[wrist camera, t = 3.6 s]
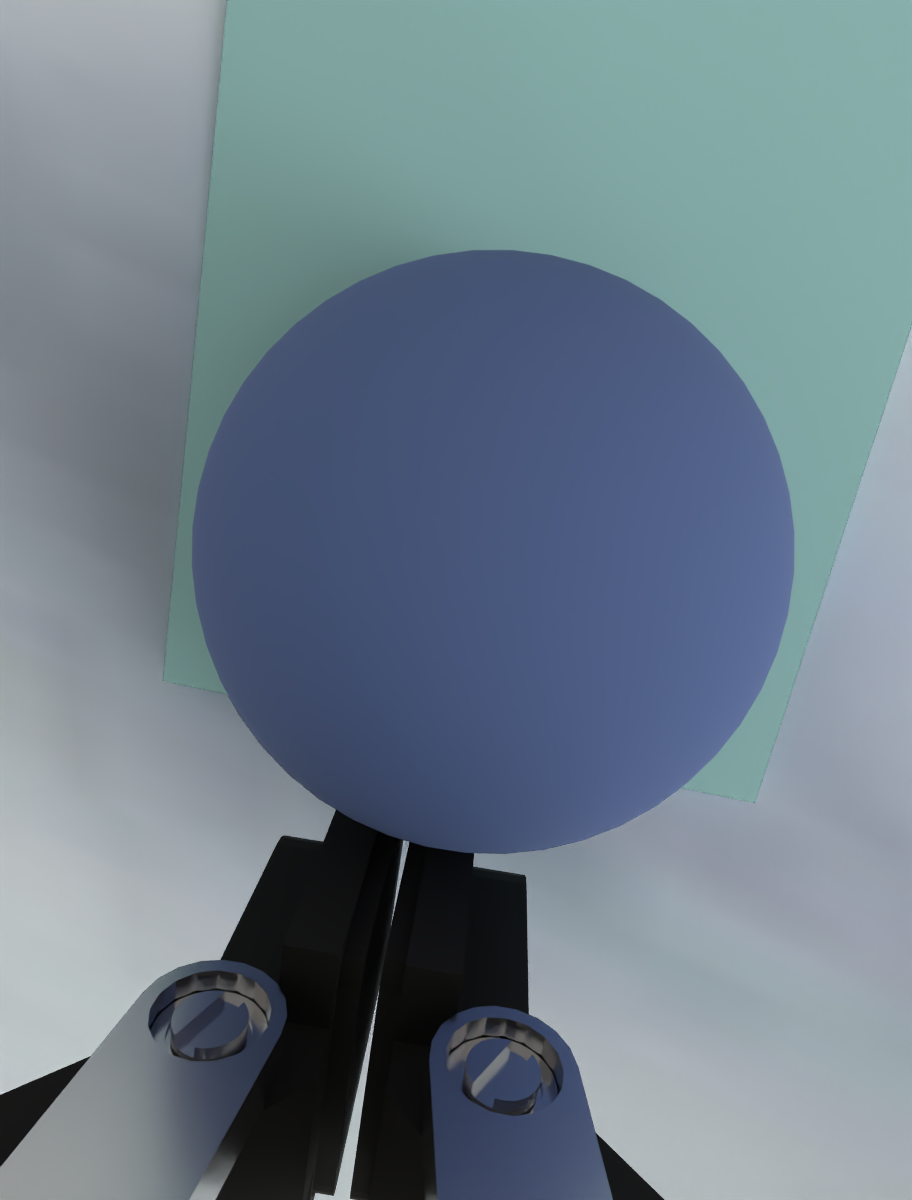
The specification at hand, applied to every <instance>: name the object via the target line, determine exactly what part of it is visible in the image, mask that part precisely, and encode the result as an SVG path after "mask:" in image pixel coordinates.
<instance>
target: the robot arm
mask: <svg viewBox="0 0 912 1200" xmlns="http://www.w3.org/2000/svg"><path fill="white" fill-rule="evenodd" d="M402 844H403V840H402V839H399V838H395V837H392V836H389V835H386V834H384V833H382V832H380V831H377V830H375V829H373V828H371V827H368V826H366V825H364V824H362V823H359V822H357V821H355V820H353V819H351V818H349V817H348V816H346V815H344V814H343V813H341V812H340V811H338V810H336V811H335V814H334V816H333V819H332V821H331V824H330V827H329V829H328V832H327V834H326V837H325V839H324V842H321V841H315V840H309V839H303V838H297V837H291V836H285V835H284V836H282V837H281V838H280V840H279V841H278V843H277V845H276V847H275V849H274V851H273V853H272V855H271V857H270V859H269V861H268V863H267V865H266V867H265V870H264V872H263V874H262V876H261V878H260V880H259V882H258V884H257V886H256V888H255V890H254V892H253V894H252V896H251V898H250V900H249V902H248V904H247V906H246V908H245V911H244V913H243V915H242V917H241V919H240V921H239V923H238V925H237V927H236V929H235V931H234V933H233V935H232V937H231V939H230V941H229V943H228V945H227V947H226V950H225V952H224V954H223V956H222V958H221V960H214V961H200V962H196V963H193V964H189V965H185V966H182V967H178V968H176V969H175V970H173V971H171V972H169V973H167V974H165V975H163V976H161V977H160V978H158V979H157V980H156V981H155V982H154V983H153V984H152V985H150V986H149V987H148V988H147V989H146V990H145V991H144V992H143V993H142V994H141V995H140V997H139V998H138V999H137V1000H136V1001H135V1003H134V1004H133V1005H132V1006H131V1008H130V1009H129V1010H128V1011H127V1012H126V1014H125V1015H124V1016H123V1017H122V1019H121V1020H120V1021H119V1022H118V1024H117V1025H116V1026H115V1027H114V1028H113V1030H112V1031H111V1032H110V1033H109V1035H108V1036H107V1037H106V1038H105V1039H104V1041H103V1042H102V1043H101V1044H100V1046H99V1047H98V1048H97V1049H96V1051H95V1052H94V1053H93V1054H92V1055H91V1056H90V1057H88V1058H85V1059H83V1060H81V1061H78V1062H76V1063H74V1064H71V1065H69V1066H67V1067H64V1068H62V1069H60V1070H57V1071H55V1072H53V1073H50V1074H48V1075H46V1076H43V1077H41V1078H39V1079H36V1080H34V1081H32V1082H29V1083H27V1084H25V1085H22V1086H20V1087H18V1088H16V1089H13V1090H11V1091H9V1092H6V1093H4V1094H2V1095H0V1200H314V1196H315V1193H320V1194H326V1195H332V1196H334V1193H335V1189H336V1185H337V1181H338V1176H339V1171H340V1167H341V1162H342V1157H343V1153H344V1148H345V1144H346V1139H347V1134H348V1130H349V1125H350V1121H351V1116H352V1111H353V1107H354V1102H355V1097H356V1093H357V1088H358V1084H359V1079H360V1074H361V1070H362V1065H363V1061H364V1056H365V1051H366V1047H367V1042H368V1038H369V1033H370V1028H371V1024H372V1019H373V1014H374V1010H375V1005H376V1001H377V996H378V1002H377V1009H376V1016H375V1024H374V1031H373V1038H372V1045H371V1052H370V1059H369V1066H368V1073H367V1080H366V1087H365V1094H364V1101H363V1108H362V1116H361V1123H360V1130H359V1137H358V1144H357V1151H356V1158H355V1165H354V1172H353V1179H352V1186H351V1194H350V1199H355V1200H664V1199H663V1198H662V1197H661V1196H660V1195H659V1194H658V1193H657V1192H656V1191H655V1190H654V1189H653V1188H652V1187H651V1186H650V1185H649V1184H648V1183H647V1182H646V1181H645V1180H644V1179H643V1178H642V1177H640V1176H639V1175H638V1174H637V1173H636V1172H635V1171H634V1170H633V1169H632V1168H631V1167H630V1166H629V1165H628V1164H627V1163H626V1162H625V1161H624V1160H623V1159H622V1158H621V1157H620V1156H619V1155H618V1154H617V1153H616V1152H615V1151H614V1150H613V1149H612V1148H611V1147H610V1146H609V1145H608V1144H607V1143H606V1142H605V1141H604V1140H603V1139H602V1138H600V1137H599V1136H598V1135H597V1134H596V1133H595V1129H594V1125H593V1121H592V1118H591V1114H590V1110H589V1106H588V1102H587V1098H586V1095H585V1091H584V1087H583V1083H582V1079H581V1075H580V1072H579V1068H578V1065H577V1063H576V1061H575V1058H574V1056H573V1054H572V1052H571V1049H570V1048H569V1046H568V1045H567V1044H566V1043H565V1042H564V1040H563V1039H562V1038H561V1037H560V1036H559V1035H558V1033H557V1032H556V1031H555V1030H553V1029H552V1028H550V1027H549V1026H548V1025H546V1024H545V1023H543V1022H542V1021H541V1020H539V1019H538V1018H536V1017H533V1016H531V1015H529V1007H528V948H527V890H526V877H525V875H521V874H515V873H509V872H502V871H496V870H490V869H484V868H478V867H473V860H474V853H463V852H457V851H451V850H444V849H438V848H432V847H426V846H422V845H419V844H416V843H412V842H410V843H409V847H408V852H407V856H406V861H405V865H404V870H403V875H402V879H401V884H400V888H399V893H398V897H397V902H396V906H395V911H394V916H393V920H392V915H393V908H394V901H395V894H396V887H397V880H398V873H399V866H400V859H401V851H402ZM391 922H392V925H391ZM379 987H380V988H379ZM378 991H379V995H378Z"/></svg>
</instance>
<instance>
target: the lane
mask: <svg viewBox="0 0 912 1200" xmlns="http://www.w3.org/2000/svg"><path fill="white" fill-rule="evenodd" d="M470 250H517V251H525V252H532V253H540V254H548V255H554V256H557V257H561V258H565V259H569V260H573V261H577V262H580V263H584V264H588V265H591V266H593V267H596V268H598V269H601V270H603V271H606V272H608V273H611V274H613V275H615V276H618V277H620V278H623V279H625V280H627V281H629V282H631V283H632V284H634V285H636V286H638V287H639V288H641V289H643V290H645V291H646V292H648V293H650V294H652V295H653V296H655V297H657V298H659V299H660V300H662V301H663V302H664V303H666V304H667V305H668V306H670V307H671V308H672V309H674V310H675V311H676V312H678V313H679V314H680V315H681V316H683V317H684V318H685V319H687V320H688V321H689V322H691V323H692V324H693V325H694V326H695V327H696V328H697V329H698V330H699V331H700V332H701V333H702V334H703V335H704V336H705V337H706V338H707V339H708V340H709V341H710V342H711V343H712V344H713V345H714V346H715V347H716V348H717V349H718V350H719V351H720V352H721V353H722V355H723V356H724V357H725V359H726V360H727V361H728V362H729V364H730V365H731V366H732V368H733V369H734V370H735V372H736V373H737V374H738V375H739V377H740V378H741V379H742V381H743V382H744V383H745V385H746V387H747V389H748V390H749V392H750V394H751V395H752V397H753V399H754V401H755V402H756V404H757V406H758V408H759V409H760V411H761V413H762V415H763V416H764V418H765V421H766V423H767V426H768V428H769V430H770V433H771V435H772V438H773V440H774V443H775V445H776V447H777V450H778V452H779V455H780V459H781V463H782V466H783V470H784V474H785V478H786V482H787V485H788V489H789V493H790V501H791V509H792V517H793V525H794V576H793V583H792V590H791V597H790V604H789V611H788V616H787V620H786V623H785V627H784V630H783V634H782V638H781V641H780V645H779V648H778V652H777V655H776V657H775V659H774V662H773V664H772V666H771V668H770V671H769V673H768V675H767V678H766V680H765V682H764V685H763V687H762V689H761V691H760V693H759V695H758V696H757V698H756V700H755V701H754V703H753V705H752V706H751V708H750V710H749V711H748V713H747V715H746V716H745V718H744V720H743V721H742V723H741V724H740V726H739V727H738V728H737V729H736V731H735V732H734V733H733V734H732V736H731V737H730V738H729V739H728V741H727V742H726V743H725V745H724V746H723V747H722V748H721V750H720V751H719V752H718V753H717V755H716V756H715V757H714V758H713V759H712V760H711V761H709V762H708V763H707V764H706V765H705V766H704V767H703V768H702V769H701V770H700V771H699V772H698V773H697V774H696V775H695V776H694V777H693V778H692V779H691V780H690V781H689V782H688V783H686V784H685V785H684V786H682V787H681V788H684V789H689V790H694V791H698V792H703V793H708V794H713V795H718V796H723V797H727V798H732V799H737V800H742V801H747V802H752V803H755V801H756V798H757V795H758V792H759V789H760V786H761V783H762V780H763V777H764V774H765V771H766V768H767V765H768V762H769V759H770V755H771V752H772V749H773V746H774V743H775V740H776V737H777V734H778V731H779V728H780V725H781V722H782V719H783V716H784V713H785V710H786V707H787V704H788V701H789V698H790V695H791V692H792V688H793V685H794V682H795V679H796V676H797V673H798V670H799V667H800V664H801V661H802V658H803V655H804V652H805V649H806V646H807V643H808V640H809V637H810V634H811V631H812V628H813V625H814V621H815V618H816V615H817V612H818V609H819V606H820V603H821V600H822V597H823V594H824V591H825V588H826V585H827V582H828V579H829V576H830V573H831V570H832V567H833V564H834V561H835V558H836V554H837V551H838V548H839V545H840V542H841V539H842V536H843V533H844V530H845V527H846V524H847V521H848V518H849V515H850V512H851V509H852V506H853V503H854V500H855V497H856V494H857V491H858V487H859V484H860V481H861V478H862V475H863V472H864V469H865V466H866V463H867V460H868V457H869V454H870V451H871V448H872V445H873V442H874V439H875V436H876V433H877V430H878V427H879V424H880V420H881V417H882V414H883V411H884V408H885V405H886V402H887V399H888V396H889V393H890V390H891V387H892V384H893V381H894V378H895V375H896V372H897V369H898V366H899V363H900V360H901V357H902V353H903V350H904V347H905V344H906V341H907V338H908V335H909V332H910V329H911V326H912V0H227V7H226V18H225V29H224V39H223V50H222V60H221V71H220V82H219V92H218V103H217V113H216V124H215V134H214V145H213V156H212V166H211V177H210V187H209V198H208V209H207V219H206V230H205V240H204V251H203V261H202V272H201V283H200V293H199V304H198V314H197V325H196V336H195V346H194V357H193V367H192V378H191V388H190V399H189V410H188V420H187V431H186V441H185V452H184V463H183V473H182V484H181V494H180V505H179V515H178V526H177V537H176V547H175V558H174V568H173V579H172V590H171V600H170V611H169V621H168V632H167V643H166V653H165V664H164V674H163V681H166V682H170V683H175V684H180V685H185V686H190V687H195V688H200V689H204V690H209V691H214V692H219V693H224V694H227V692H226V690H225V689H224V687H223V685H222V683H221V681H220V679H219V676H218V674H217V671H216V669H215V666H214V663H213V661H212V658H211V656H210V653H209V651H208V648H207V645H206V642H205V638H204V634H203V630H202V626H201V622H200V618H199V614H198V610H197V606H196V598H195V589H194V581H193V572H192V527H193V520H194V513H195V506H196V500H197V493H198V487H199V484H200V480H201V476H202V473H203V469H204V466H205V462H206V459H207V455H208V452H209V449H210V447H211V444H212V442H213V440H214V437H215V435H216V433H217V430H218V428H219V426H220V423H221V421H222V419H223V416H224V414H225V413H226V411H227V409H228V408H229V406H230V404H231V403H232V401H233V399H234V397H235V396H236V394H237V392H238V391H239V389H240V387H241V386H242V384H243V382H244V381H245V380H246V378H247V377H248V376H249V374H250V373H251V372H252V371H253V369H254V368H255V367H256V365H257V364H258V363H259V362H260V360H261V359H262V358H263V356H264V355H265V354H266V353H267V351H268V350H269V349H270V348H271V347H272V346H273V345H274V344H275V343H276V342H277V341H278V340H279V339H280V338H281V337H282V336H283V335H284V334H285V333H286V332H287V331H288V330H289V329H290V328H291V327H292V326H294V325H295V324H296V323H297V322H298V321H300V320H301V319H302V318H303V317H305V316H306V315H307V314H309V313H310V312H311V311H313V310H314V309H315V308H317V307H318V306H319V305H321V304H322V303H323V302H324V301H326V300H327V299H329V298H331V297H333V296H334V295H336V294H338V293H339V292H341V291H343V290H345V289H346V288H348V287H350V286H352V285H353V284H355V283H357V282H359V281H360V280H363V279H365V278H368V277H370V276H372V275H375V274H377V273H380V272H382V271H384V270H387V269H389V268H392V267H394V266H397V265H400V264H404V263H408V262H411V261H415V260H419V259H423V258H426V257H430V256H434V255H441V254H448V253H455V252H463V251H470Z"/></svg>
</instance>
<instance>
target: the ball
mask: <svg viewBox="0 0 912 1200" xmlns="http://www.w3.org/2000/svg"><path fill="white" fill-rule="evenodd" d="M192 572H193V581H194V589H195V598H196V606H197V610H198V614H199V618H200V622H201V626H202V630H203V634H204V638H205V642H206V645H207V648H208V651H209V653H210V656H211V658H212V661H213V663H214V666H215V669H216V671H217V674H218V676H219V679H220V681H221V683H222V685H223V687H224V689H225V690H226V692H227V694H228V696H229V698H230V699H231V701H232V703H233V705H234V707H235V709H236V710H237V712H238V714H239V716H240V717H241V718H242V720H243V721H244V722H245V724H246V725H247V727H248V728H249V729H250V731H251V732H252V733H253V735H254V736H255V738H256V739H257V740H258V742H259V743H260V744H261V746H262V747H263V748H264V749H265V750H266V751H267V752H268V753H269V754H270V755H271V756H272V757H273V758H274V760H275V761H276V762H277V763H278V764H279V765H280V766H281V767H282V768H283V769H284V770H285V771H286V772H287V773H288V774H289V775H290V776H291V777H292V778H294V779H295V780H296V781H297V782H299V783H300V784H301V785H302V786H304V787H305V788H306V789H307V790H309V791H310V792H311V793H312V794H314V795H315V796H316V797H317V798H318V799H320V800H322V801H323V802H325V803H326V804H328V805H330V806H331V807H333V808H335V809H336V810H338V811H340V812H341V813H343V814H344V815H346V816H348V817H349V818H351V819H353V820H355V821H357V822H359V823H362V824H364V825H366V826H368V827H371V828H373V829H375V830H377V831H380V832H382V833H384V834H386V835H389V836H392V837H395V838H399V839H402V840H406V841H409V842H412V843H416V844H419V845H422V846H426V847H432V848H438V849H444V850H451V851H457V852H463V853H494V854H507V853H517V852H526V851H536V850H544V849H549V848H553V847H557V846H561V845H565V844H569V843H573V842H578V841H582V840H585V839H587V838H590V837H592V836H595V835H598V834H600V833H603V832H605V831H608V830H610V829H613V828H616V827H618V826H621V825H622V824H624V823H626V822H628V821H630V820H632V819H633V818H635V817H637V816H639V815H641V814H642V813H644V812H646V811H648V810H650V809H652V808H653V807H655V806H656V805H658V804H659V803H661V802H662V801H663V800H665V799H666V798H667V797H669V796H670V795H671V794H673V793H674V792H676V791H677V790H678V789H680V788H681V787H682V786H684V785H685V784H686V783H688V782H689V781H690V780H691V779H692V778H693V777H694V776H695V775H696V774H697V773H698V772H699V771H700V770H701V769H702V768H703V767H704V766H705V765H706V764H707V763H708V762H709V761H711V760H712V759H713V758H714V757H715V756H716V755H717V753H718V752H719V751H720V750H721V748H722V747H723V746H724V745H725V743H726V742H727V741H728V739H729V738H730V737H731V736H732V734H733V733H734V732H735V731H736V729H737V728H738V727H739V726H740V724H741V723H742V721H743V720H744V718H745V716H746V715H747V713H748V711H749V710H750V708H751V706H752V705H753V703H754V701H755V700H756V698H757V696H758V695H759V693H760V691H761V689H762V687H763V685H764V682H765V680H766V678H767V675H768V673H769V671H770V668H771V666H772V664H773V662H774V659H775V657H776V655H777V652H778V648H779V645H780V641H781V638H782V634H783V630H784V627H785V623H786V620H787V616H788V611H789V604H790V597H791V590H792V583H793V576H794V525H793V517H792V509H791V501H790V493H789V489H788V485H787V482H786V478H785V474H784V470H783V466H782V463H781V459H780V455H779V452H778V450H777V447H776V445H775V443H774V440H773V438H772V435H771V433H770V430H769V428H768V426H767V423H766V421H765V418H764V416H763V415H762V413H761V411H760V409H759V408H758V406H757V404H756V402H755V401H754V399H753V397H752V395H751V394H750V392H749V390H748V389H747V387H746V385H745V383H744V382H743V381H742V379H741V378H740V377H739V375H738V374H737V373H736V372H735V370H734V369H733V368H732V366H731V365H730V364H729V362H728V361H727V360H726V359H725V357H724V356H723V355H722V353H721V352H720V351H719V350H718V349H717V348H716V347H715V346H714V345H713V344H712V343H711V342H710V341H709V340H708V339H707V338H706V337H705V336H704V335H703V334H702V333H701V332H700V331H699V330H698V329H697V328H696V327H695V326H694V325H693V324H692V323H691V322H689V321H688V320H687V319H685V318H684V317H683V316H681V315H680V314H679V313H678V312H676V311H675V310H674V309H672V308H671V307H670V306H668V305H667V304H666V303H664V302H663V301H662V300H660V299H659V298H657V297H655V296H653V295H652V294H650V293H648V292H646V291H645V290H643V289H641V288H639V287H638V286H636V285H634V284H632V283H631V282H629V281H627V280H625V279H623V278H620V277H618V276H615V275H613V274H611V273H608V272H606V271H603V270H601V269H598V268H596V267H593V266H591V265H588V264H584V263H580V262H577V261H573V260H569V259H565V258H561V257H557V256H554V255H548V254H540V253H532V252H525V251H517V250H470V251H463V252H455V253H448V254H441V255H434V256H430V257H426V258H423V259H419V260H415V261H411V262H408V263H404V264H400V265H397V266H394V267H392V268H389V269H387V270H384V271H382V272H380V273H377V274H375V275H372V276H370V277H368V278H365V279H363V280H360V281H359V282H357V283H355V284H353V285H352V286H350V287H348V288H346V289H345V290H343V291H341V292H339V293H338V294H336V295H334V296H333V297H331V298H329V299H327V300H326V301H324V302H323V303H322V304H321V305H319V306H318V307H317V308H315V309H314V310H313V311H311V312H310V313H309V314H307V315H306V316H305V317H303V318H302V319H301V320H300V321H298V322H297V323H296V324H295V325H294V326H292V327H291V328H290V329H289V330H288V331H287V332H286V333H285V334H284V335H283V336H282V337H281V338H280V339H279V340H278V341H277V342H276V343H275V344H274V345H273V346H272V347H271V348H270V349H269V350H268V351H267V353H266V354H265V355H264V356H263V358H262V359H261V360H260V362H259V363H258V364H257V365H256V367H255V368H254V369H253V371H252V372H251V373H250V374H249V376H248V377H247V378H246V380H245V381H244V382H243V384H242V386H241V387H240V389H239V391H238V392H237V394H236V396H235V397H234V399H233V401H232V403H231V404H230V406H229V408H228V409H227V411H226V413H225V414H224V416H223V419H222V421H221V423H220V426H219V428H218V430H217V433H216V435H215V437H214V440H213V442H212V444H211V447H210V449H209V452H208V455H207V459H206V462H205V466H204V469H203V473H202V476H201V480H200V484H199V487H198V493H197V500H196V506H195V513H194V520H193V527H192Z"/></svg>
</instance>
